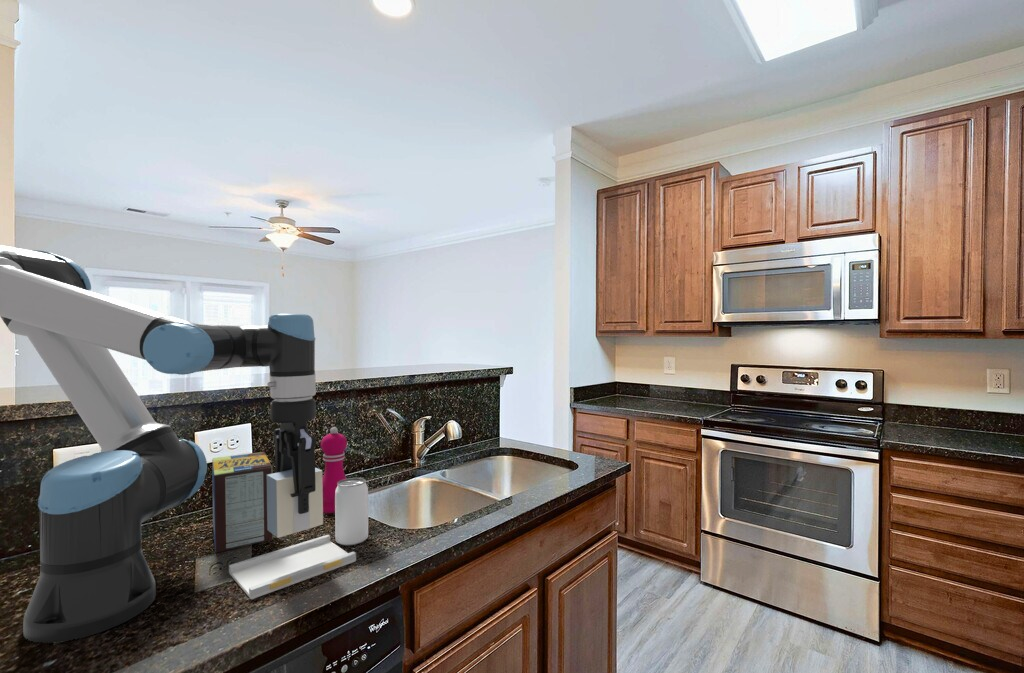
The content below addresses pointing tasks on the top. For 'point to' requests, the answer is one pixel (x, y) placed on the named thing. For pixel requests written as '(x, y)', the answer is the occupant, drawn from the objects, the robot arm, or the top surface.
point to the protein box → (240, 500)
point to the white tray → (288, 566)
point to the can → (351, 511)
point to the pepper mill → (332, 467)
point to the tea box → (290, 502)
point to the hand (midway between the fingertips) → (295, 525)
